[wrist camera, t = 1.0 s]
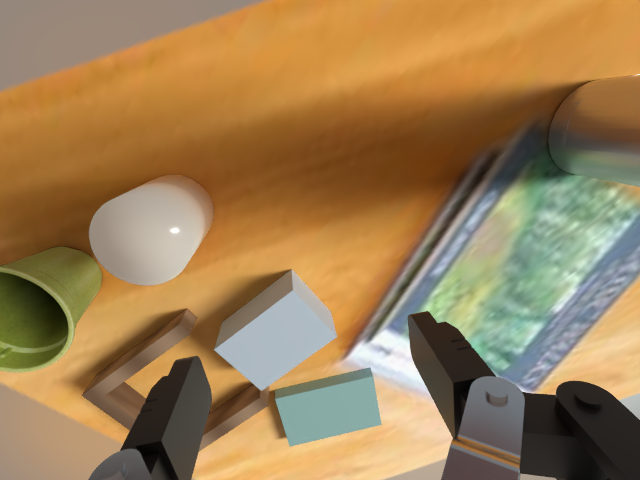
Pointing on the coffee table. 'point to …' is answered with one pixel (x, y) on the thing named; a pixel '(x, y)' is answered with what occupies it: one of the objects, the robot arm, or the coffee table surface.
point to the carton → (275, 331)
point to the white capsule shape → (152, 229)
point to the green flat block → (328, 406)
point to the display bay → (127, 402)
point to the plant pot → (43, 306)
